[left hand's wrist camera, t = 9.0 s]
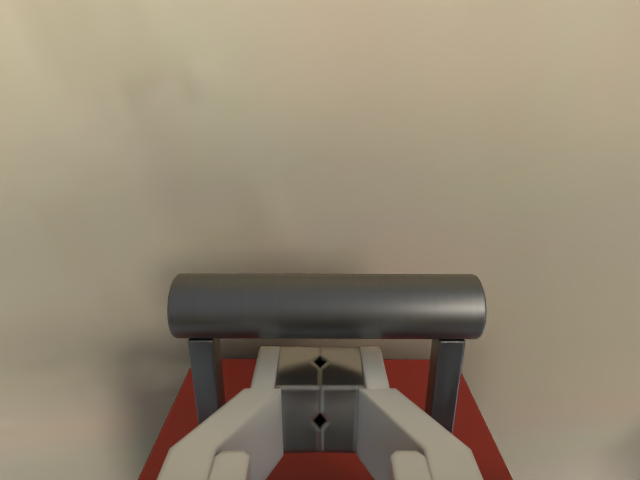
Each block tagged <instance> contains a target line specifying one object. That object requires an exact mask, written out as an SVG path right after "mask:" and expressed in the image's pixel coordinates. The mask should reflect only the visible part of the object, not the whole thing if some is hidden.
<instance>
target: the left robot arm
mask: <svg viewBox="0 0 640 480" xmlns="http://www.w3.org/2000/svg"><path fill="white" fill-rule="evenodd" d="M311 452H328V453H357V454H356V455H357V456H358V458H359V459H360V461H361V462H362V463H363V465H364V466H365V467H366V469H367V470H368V471H369V473H370V474H371V476H372V477H373V478H374V480H483V477H482V475H481V473H480V470H479V468H478V465H477V463H476V460H475V458H474V456H473V453H472V451H471V449H470V448H469V447H467V446H466V445H465V444H464V443H462V442H461V441H460V440H459V439H457V438H456V437H455V436H454V435H453V434H451V433H450V432H449V431H448V430H446V429H445V428H444V427H443V426H441V425H440V424H439V423H438V422H436V421H435V420H434V419H433V418H432V417H430V416H429V415H428V414H427V413H425V412H424V411H423V410H422V409H420V408H419V407H418V406H417V405H415V404H414V403H413V402H412V401H411V400H409V399H408V398H407V397H406V396H404V395H403V394H402V393H401V392H399V391H398V390H397V389H396V388H390V387H389V383H388V379H387V374H386V370H385V366H384V362H383V357H382V353H381V349H380V347H379V346H365V347H335V348H320V347H285V346H281V347H280V346H261V348H260V349H259V353H258V357H257V361H256V366H255V370H254V374H253V379H252V383H251V387H250V388H244V389H243V390H242V391H241V392H239V393H238V394H237V395H236V396H234V397H233V398H232V399H231V400H229V401H228V402H227V403H226V404H224V405H223V406H222V407H221V408H219V409H218V410H217V411H216V412H215V413H213V414H212V415H211V416H210V417H208V418H207V419H206V420H205V421H203V422H202V423H201V424H200V425H198V426H197V427H196V428H195V429H193V430H192V431H191V432H190V433H188V434H187V435H186V436H185V437H183V438H182V439H181V440H180V441H179V442H177V443H176V444H175V445H174V446H172V447H171V448H170V449H169V451H168V454H167V456H166V458H165V461H164V463H163V466H162V468H161V470H160V473H159V475H158V478H157V480H266V479H267V477H268V476H269V475H270V473H271V472H272V470H273V469H274V468H275V466H276V465H277V464H278V462H279V461H280V460H281V458H282V457H283V456H284V454H283V453H311Z"/></svg>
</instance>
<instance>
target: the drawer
mask: <svg viewBox="0 0 640 480" xmlns="http://www.w3.org/2000/svg"><path fill="white" fill-rule="evenodd" d="M167 315H168V324H169V328H170V331H171V333H172V335H173V336H174V337H176V338H189V340H188V346H189V354H190V362H191V367H190V369H189V371H188V374H187V376H186V378H185V380H184V382H183V384H182V386H181V389H180V391H179V393H178V395H177V397H176V399H175V401H174V404H173V406H172V408H171V410H170V412H169V414H168V416H167V419H166V421H165V423H164V425H163V427H162V429H161V431H160V434H159V436H158V438H157V440H156V442H155V444H154V446H153V449H152V451H151V453H150V455H149V457H148V459H147V462H146V464H145V466H144V468H143V470H142V472H141V474H140V477H139V479H138V480H157V478H158V475H159V473H160V470H161V468H162V466H163V463H164V461H165V458H166V456H167V454H168V451H169V449H170V448H171V447H172V446H174V445H175V444H176V443H177V442H179V441H180V440H181V439H182V438H183V437H185V436H186V435H187V434H188V433H190V432H191V431H192V430H193V429H195V428H196V427H197V426H198V425H200V424H201V423H202V422H203V421H205V420H206V419H207V418H208V417H210V416H211V415H212V414H213V413H215V412H216V411H217V410H218V409H219V408H221V407H222V406H223V405H224V404H226V403H227V402H228V401H229V400H231V399H232V398H233V397H234V396H236V395H237V394H238V393H239V392H241V391H242V390H243V389H244V388H250V387H251V383H252V379H253V374H254V370H255V366H256V361H257V359H221V349H220V338H284V339H432V347H431V356H430V360H389V359H383V362H384V366H385V370H386V374H387V379H388V383H389V387H390V388H396V389H397V390H398V391H399V392H401V393H402V394H403V395H404V396H406V397H407V398H408V399H409V400H411V401H412V402H413V403H414V404H415V405H417V406H418V407H419V408H420V409H422V410H423V411H424V412H425V413H427V414H428V415H429V416H430V417H432V418H433V419H434V420H435V421H436V422H438V423H439V424H440V425H441V426H443V427H444V428H445V429H446V430H448V431H449V432H450V433H451V434H453V435H454V436H455V437H456V438H457V439H459V440H460V441H461V442H462V443H464V444H465V445H466V446H467V447H469V448H470V449H471V451H472V453H473V456H474V458H475V460H476V463H477V465H478V468H479V470H480V473H481V475H482V477H483V480H513V479H512V477H511V475H510V473H509V471H508V469H507V467H506V465H505V462H504V460H503V458H502V456H501V454H500V452H499V450H498V448H497V446H496V444H495V442H494V440H493V438H492V435H491V433H490V431H489V429H488V427H487V425H486V423H485V421H484V419H483V417H482V415H481V413H480V410H479V408H478V406H477V404H476V402H475V400H474V398H473V396H472V394H471V392H470V390H469V388H468V385H467V383H466V381H465V379H464V377H463V375H462V373H461V369H462V361H463V354H464V347H465V340H464V339H477V338H479V337H480V336H481V335H482V333H483V331H484V327H485V322H486V300H485V294H484V290H483V287H482V284H481V282H480V280H479V279H478V277H477V276H475V275H472V274H179V275H177V276H176V277H175V278H174V280H173V282H172V285H171V288H170V292H169V297H168V306H167ZM283 454H284V456H283V457H282V458H281V460H280V461H279V462H278V464H277V465H276V466H275V468H274V469H273V470H272V472H271V473H270V475H269V476H268V477H267V479H266V480H374V478H373V477H372V476H371V474H370V473H369V471H368V470H367V469H366V467H365V466H364V465H363V463H362V462H361V461H360V459H359V458H358V456H357V455H356V454H357V453H328V452H311V453H283Z"/></svg>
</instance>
